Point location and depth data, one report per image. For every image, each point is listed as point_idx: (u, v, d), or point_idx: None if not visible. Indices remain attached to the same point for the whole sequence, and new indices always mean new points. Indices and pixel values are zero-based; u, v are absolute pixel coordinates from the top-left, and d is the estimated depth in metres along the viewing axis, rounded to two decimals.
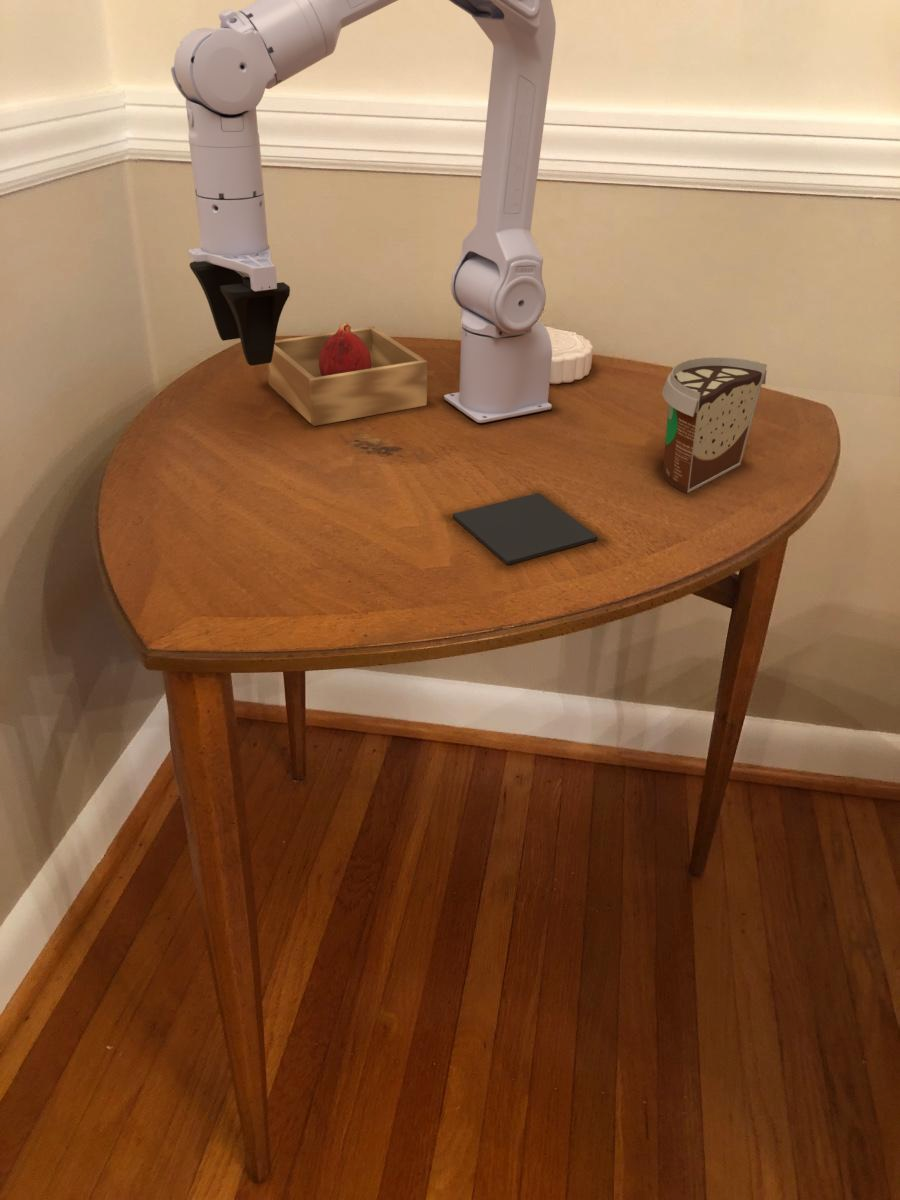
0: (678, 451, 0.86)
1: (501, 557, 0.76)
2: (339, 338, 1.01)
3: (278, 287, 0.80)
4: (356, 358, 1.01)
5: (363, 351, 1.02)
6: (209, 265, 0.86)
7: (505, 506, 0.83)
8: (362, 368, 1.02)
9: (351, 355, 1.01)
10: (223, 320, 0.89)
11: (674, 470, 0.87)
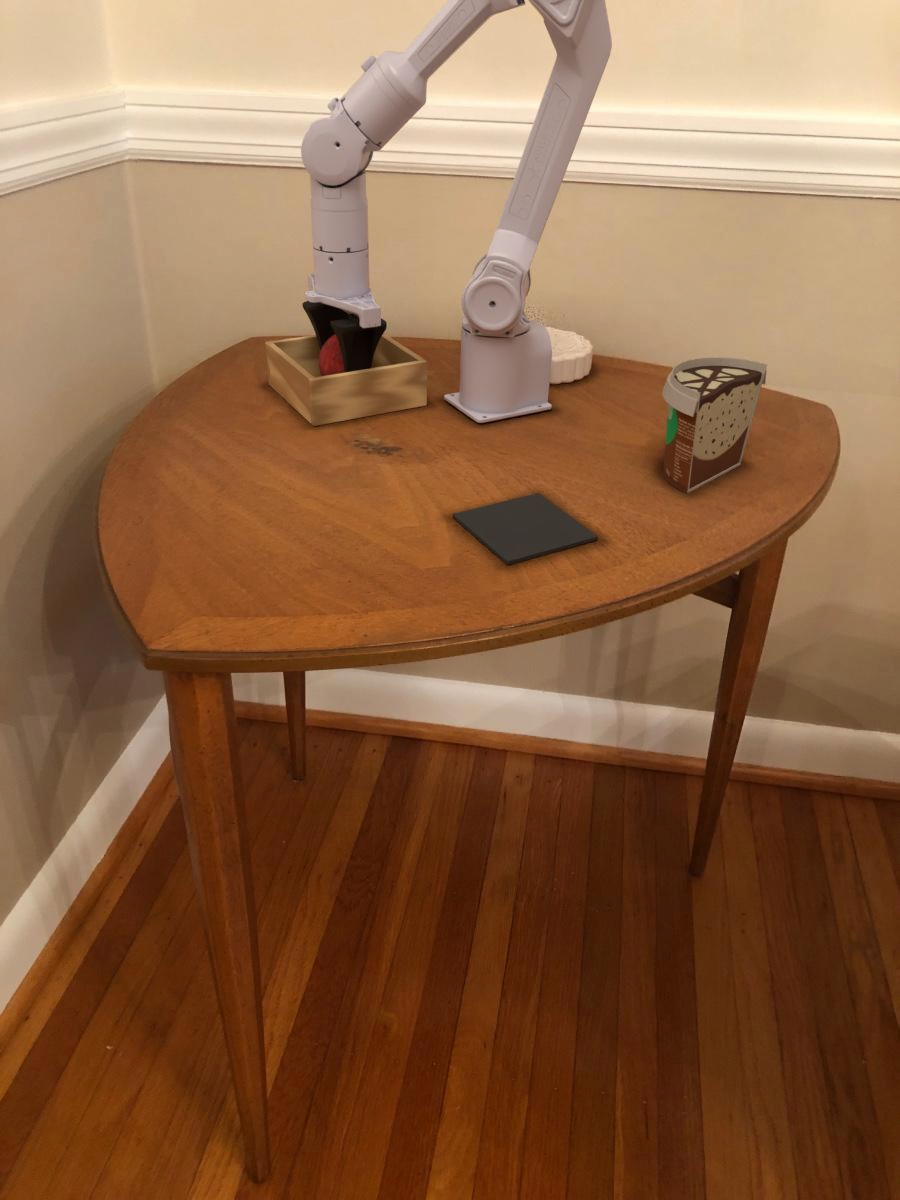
0: (678, 451, 0.86)
1: (501, 557, 0.76)
2: None
3: None
4: None
5: None
6: (319, 305, 1.02)
7: (505, 506, 0.83)
8: None
9: None
10: None
11: (674, 470, 0.87)
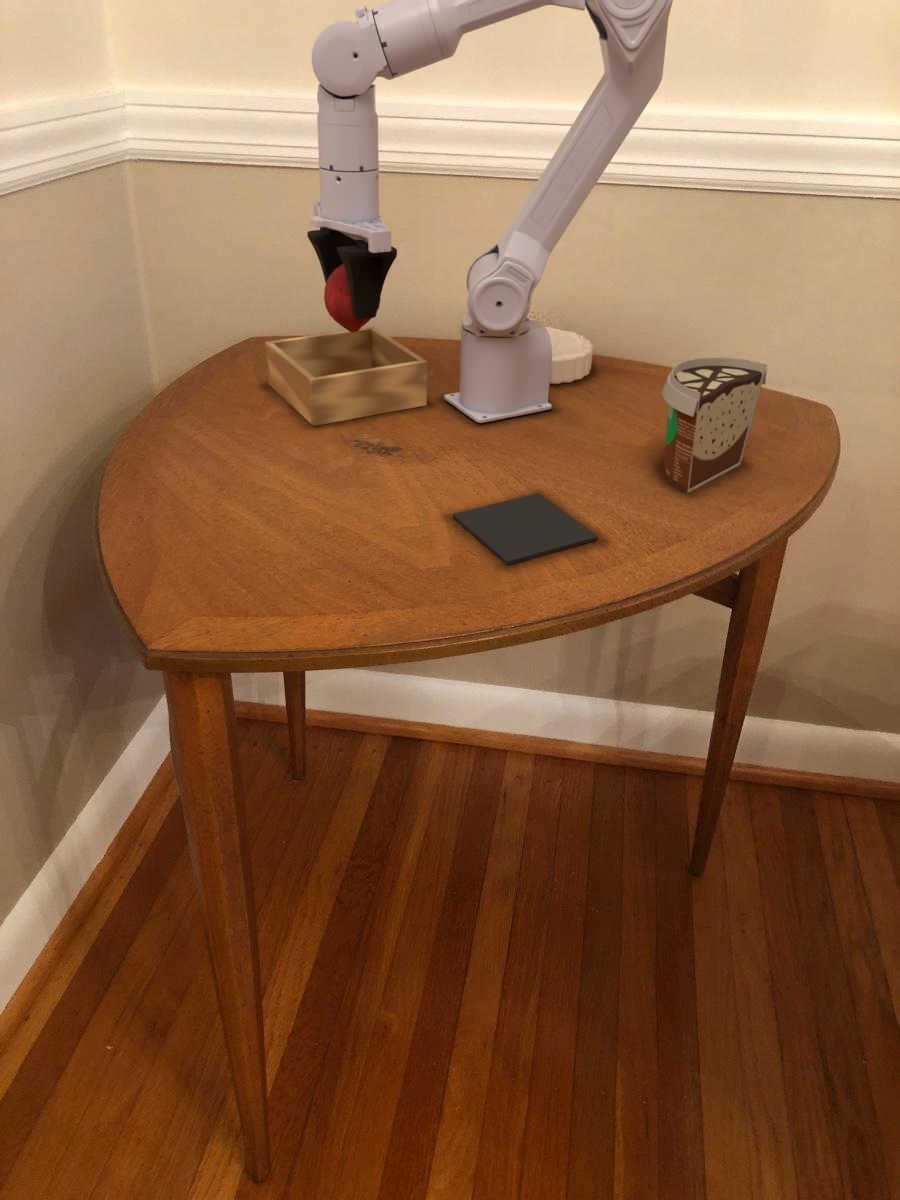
0: (678, 451, 0.86)
1: (501, 557, 0.76)
2: None
3: None
4: None
5: None
6: (325, 234, 0.96)
7: (505, 506, 0.83)
8: None
9: None
10: None
11: (674, 470, 0.87)
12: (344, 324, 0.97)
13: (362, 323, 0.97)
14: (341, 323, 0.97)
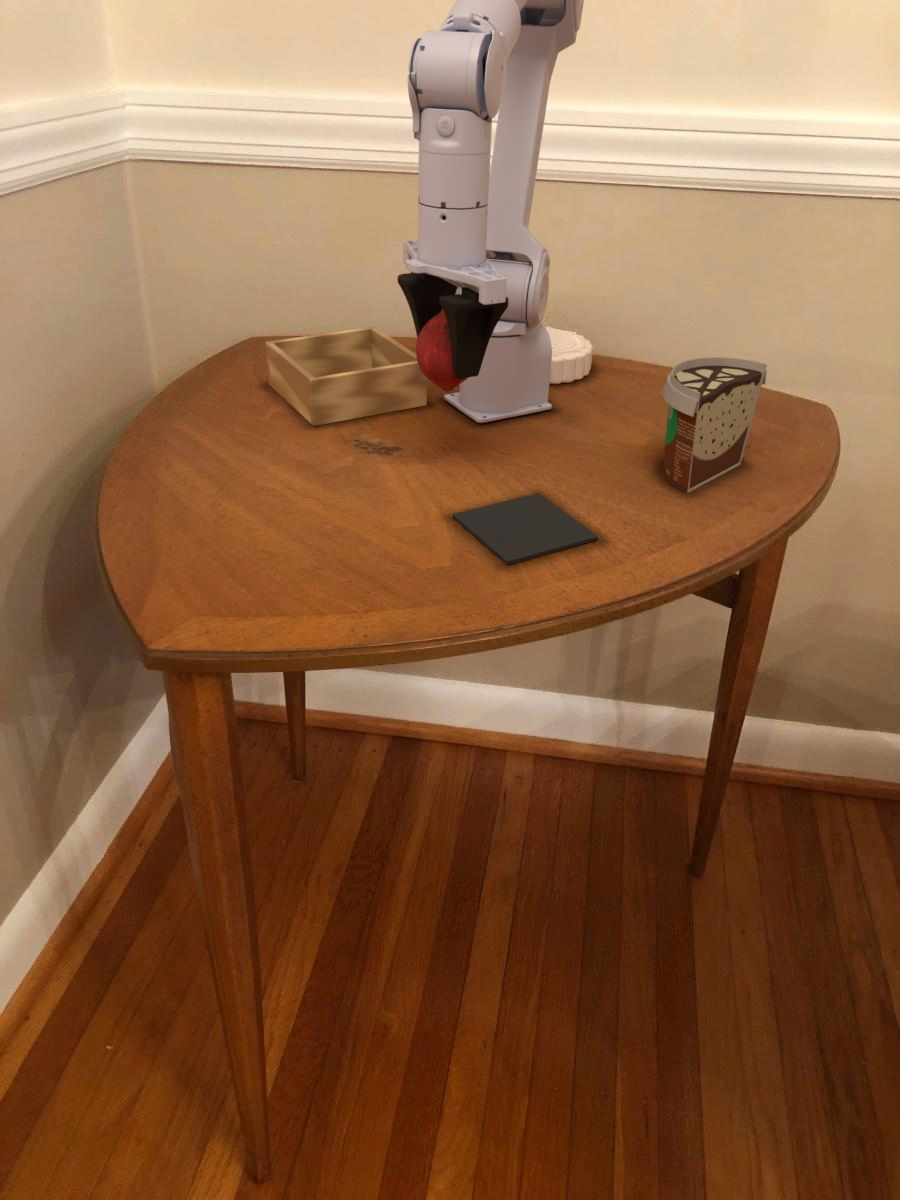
0: (678, 451, 0.86)
1: (501, 557, 0.76)
2: (444, 320, 0.81)
3: None
4: None
5: None
6: (419, 278, 0.82)
7: (505, 506, 0.83)
8: None
9: None
10: None
11: (674, 470, 0.87)
12: (439, 383, 0.83)
13: (460, 381, 0.83)
14: (436, 382, 0.83)
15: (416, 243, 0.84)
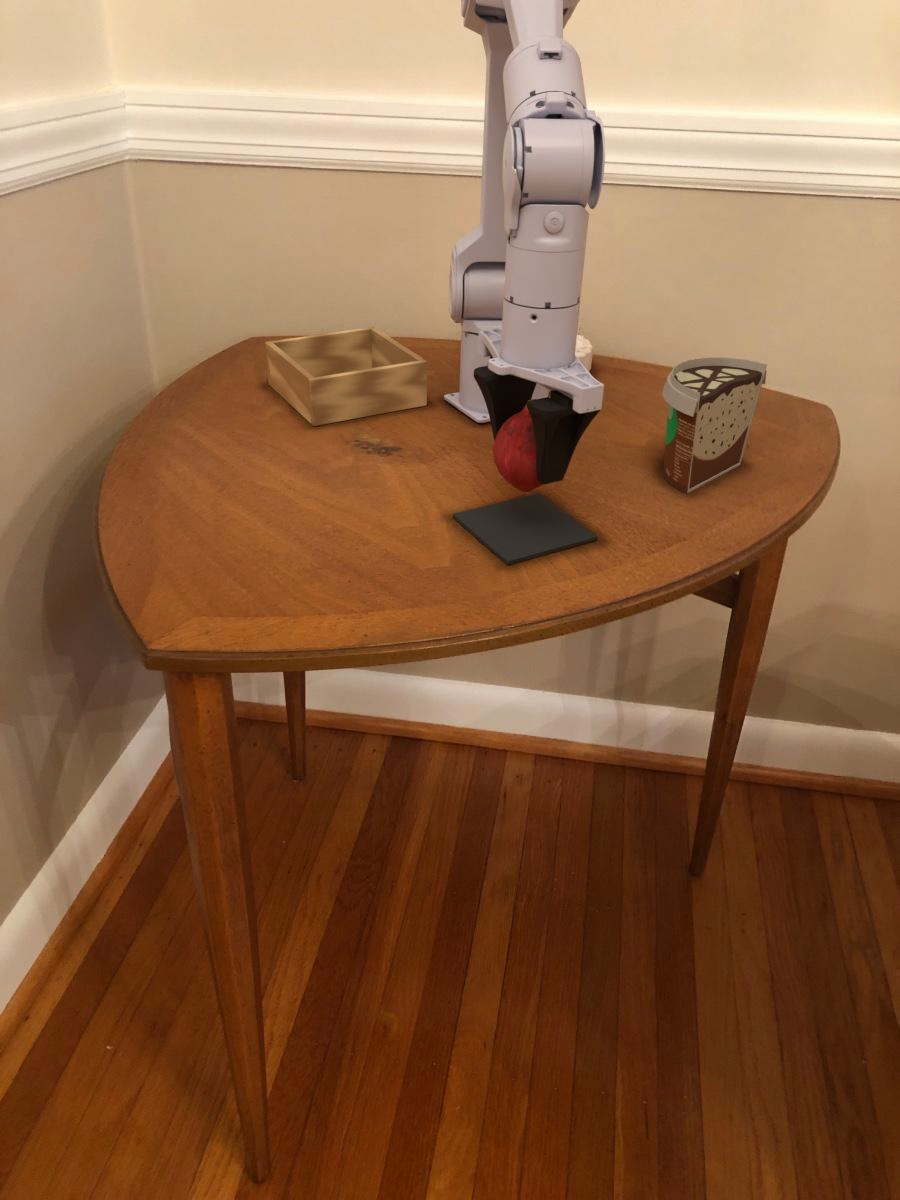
0: (678, 451, 0.86)
1: (501, 557, 0.76)
2: (527, 421, 0.74)
3: None
4: None
5: None
6: (498, 373, 0.76)
7: (505, 506, 0.83)
8: None
9: None
10: None
11: (674, 470, 0.87)
12: (519, 486, 0.77)
13: (541, 484, 0.77)
14: (515, 485, 0.77)
15: (493, 333, 0.77)
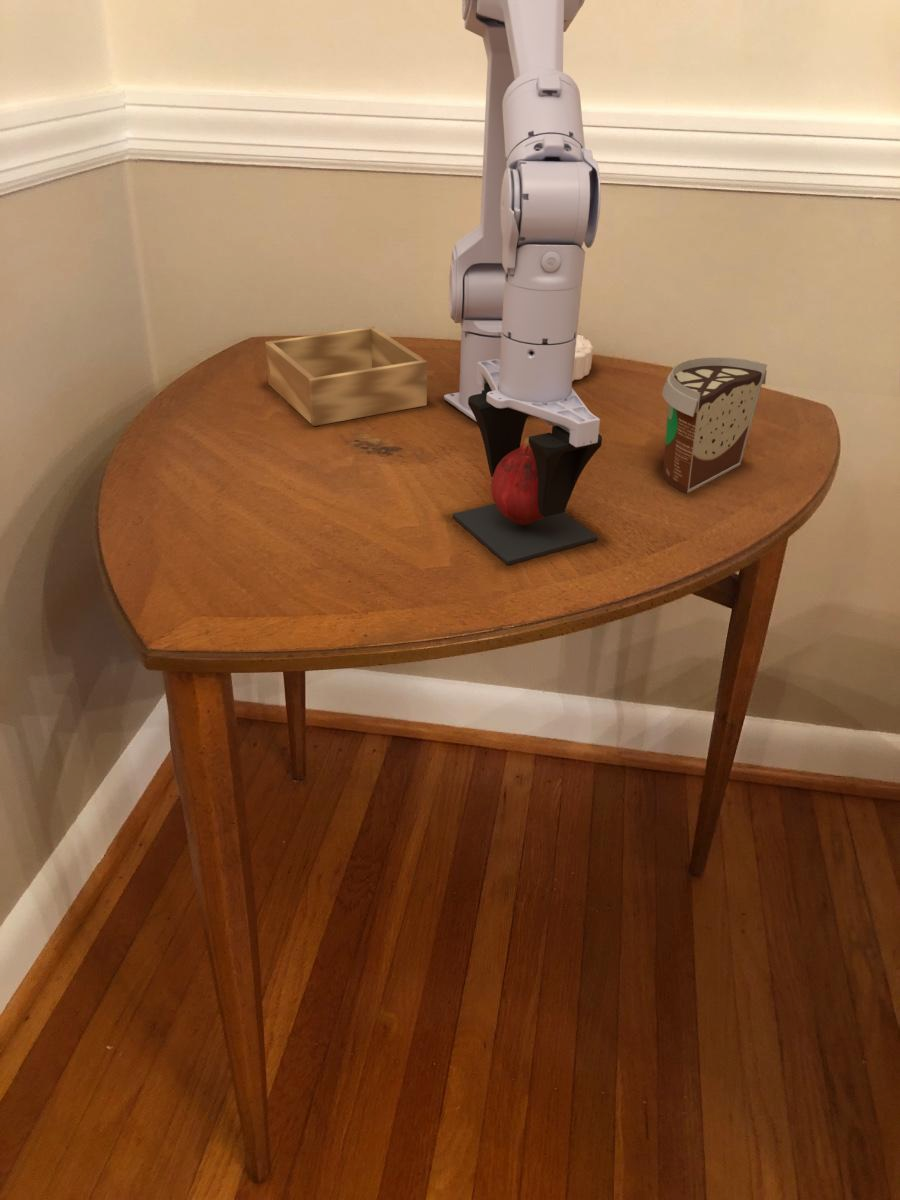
0: (678, 451, 0.86)
1: (501, 557, 0.76)
2: (524, 458, 0.76)
3: None
4: None
5: None
6: None
7: None
8: None
9: None
10: (498, 458, 0.80)
11: (674, 470, 0.87)
12: (516, 521, 0.78)
13: (538, 519, 0.79)
14: (513, 519, 0.78)
15: (491, 365, 0.78)
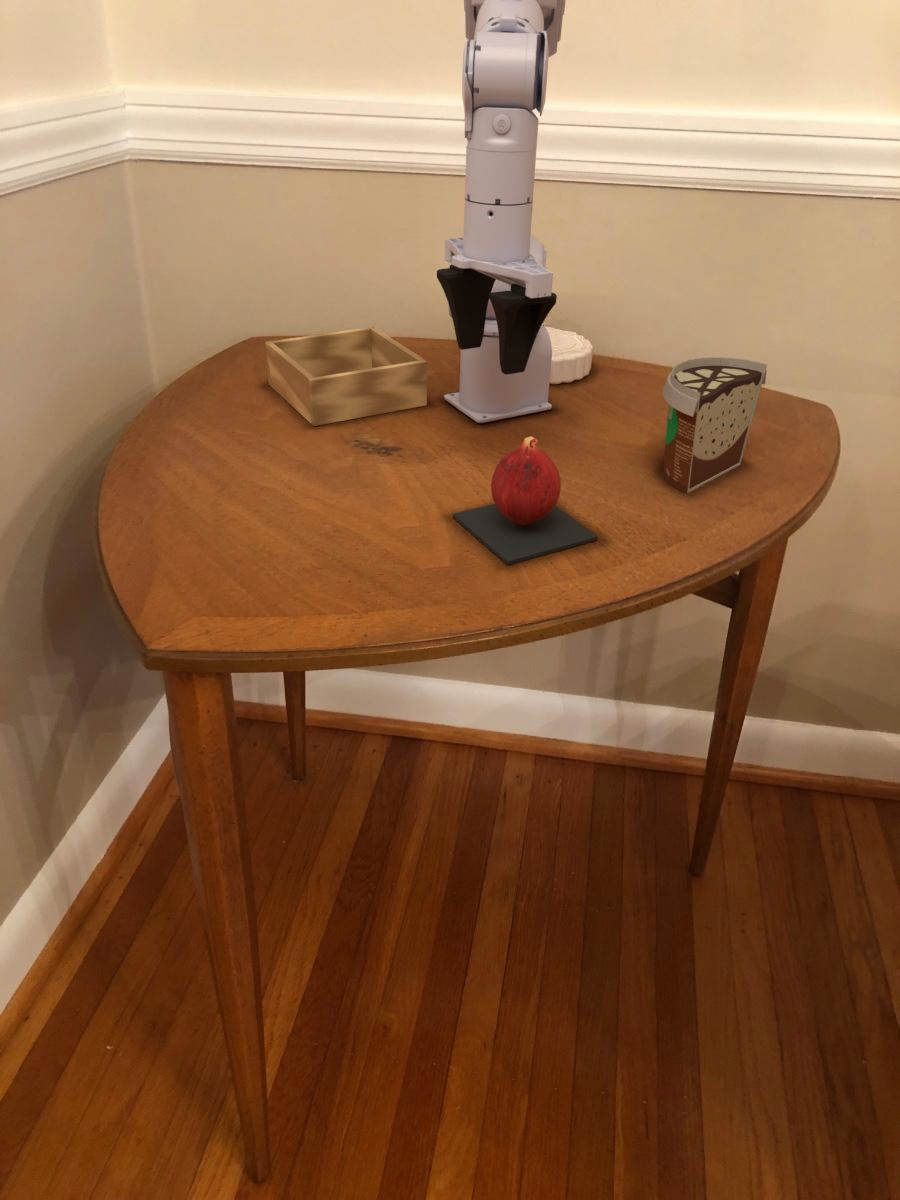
0: (678, 451, 0.86)
1: (501, 557, 0.76)
2: (524, 458, 0.76)
3: None
4: (546, 483, 0.76)
5: (554, 474, 0.77)
6: (458, 273, 0.85)
7: None
8: (552, 496, 0.77)
9: (540, 480, 0.76)
10: (464, 329, 0.87)
11: (674, 470, 0.87)
12: (516, 521, 0.78)
13: (538, 519, 0.79)
14: (513, 519, 0.78)
15: (458, 241, 0.85)
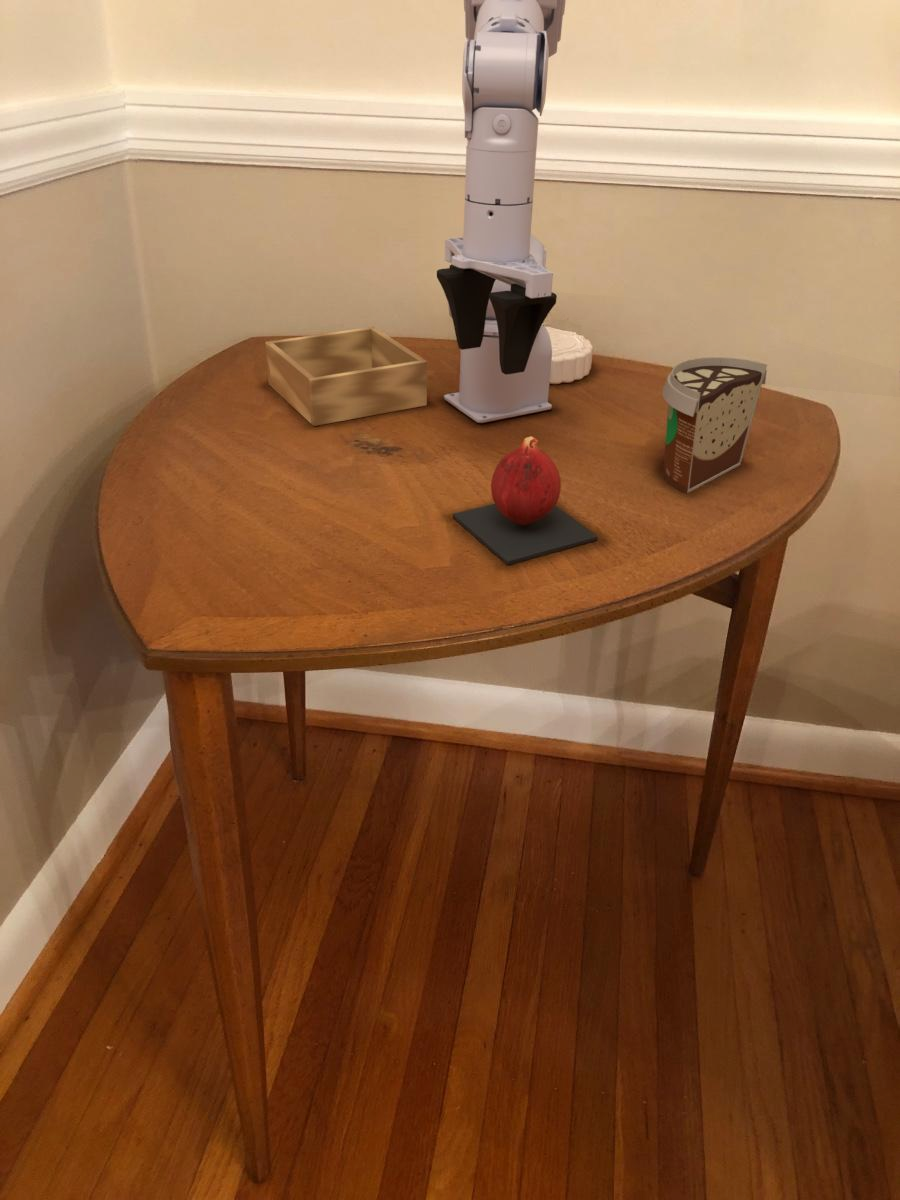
0: (678, 451, 0.86)
1: (501, 557, 0.76)
2: (524, 458, 0.76)
3: None
4: (546, 483, 0.76)
5: (554, 474, 0.77)
6: (458, 273, 0.85)
7: None
8: (552, 496, 0.77)
9: (540, 480, 0.76)
10: (464, 329, 0.87)
11: (674, 470, 0.87)
12: (516, 521, 0.78)
13: (538, 519, 0.79)
14: (513, 519, 0.78)
15: (458, 241, 0.85)
